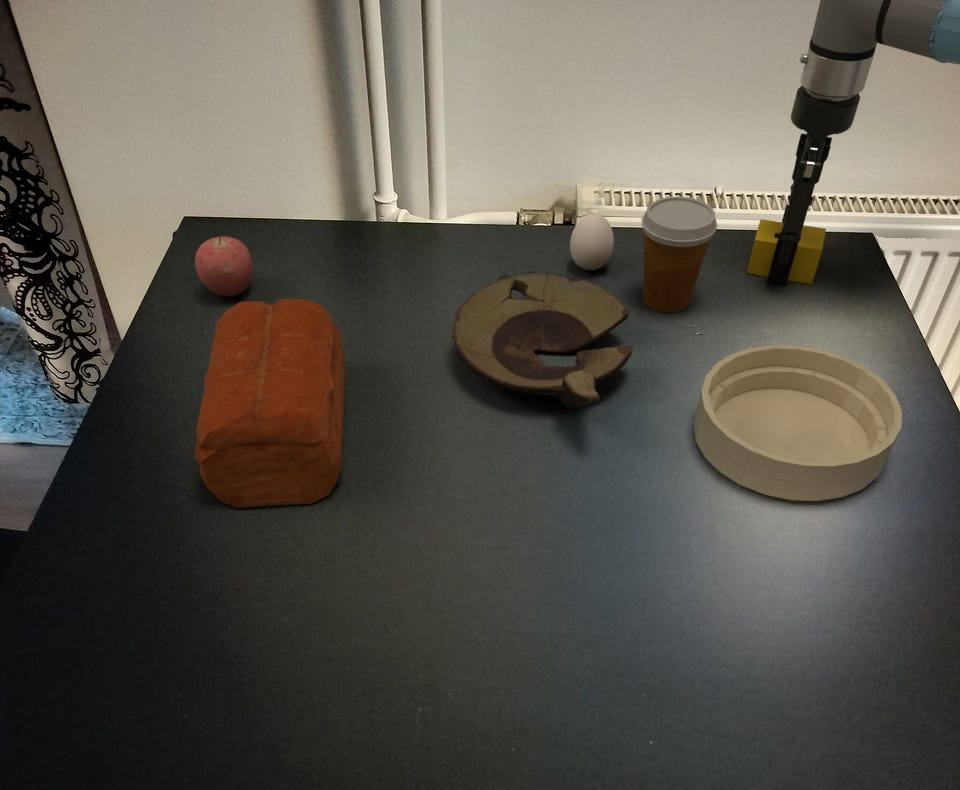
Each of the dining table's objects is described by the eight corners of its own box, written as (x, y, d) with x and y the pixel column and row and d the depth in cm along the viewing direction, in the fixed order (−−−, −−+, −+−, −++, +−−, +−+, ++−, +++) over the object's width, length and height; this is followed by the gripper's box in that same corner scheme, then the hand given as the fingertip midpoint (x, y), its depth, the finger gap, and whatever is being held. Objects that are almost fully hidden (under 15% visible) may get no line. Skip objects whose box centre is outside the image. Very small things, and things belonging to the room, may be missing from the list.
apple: (265, 279, 125) (253, 224, 119) (249, 308, 121) (235, 252, 115) (214, 276, 126) (200, 220, 120) (197, 304, 122) (181, 248, 115)
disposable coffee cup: (624, 312, 119) (635, 225, 110) (639, 276, 125) (651, 190, 116) (694, 325, 117) (712, 236, 108) (707, 287, 123) (725, 200, 114)
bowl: (888, 402, 107) (905, 363, 103) (879, 523, 94) (898, 484, 90) (709, 370, 111) (718, 331, 107) (677, 481, 99) (686, 442, 94)
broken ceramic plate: (629, 310, 120) (636, 256, 114) (628, 456, 101) (637, 400, 95) (465, 302, 121) (464, 248, 115) (435, 444, 103) (431, 388, 97)
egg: (598, 283, 124) (604, 230, 118) (560, 271, 126) (564, 218, 120) (618, 264, 127) (624, 211, 121) (580, 252, 129) (585, 200, 123)
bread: (202, 511, 96) (175, 433, 88) (226, 366, 113) (205, 288, 105) (345, 503, 97) (332, 424, 89) (349, 359, 113) (337, 281, 105)
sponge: (815, 262, 127) (826, 228, 123) (811, 284, 123) (822, 249, 119) (752, 253, 129) (760, 218, 125) (746, 274, 125) (754, 239, 121)
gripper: (806, 54, 115) (762, 227, 133) (789, 119, 103) (743, 300, 121) (866, 61, 113) (813, 235, 131) (856, 128, 101) (799, 310, 119)
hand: (780, 266), depth 126 cm, fingers open, 8 cm apart
